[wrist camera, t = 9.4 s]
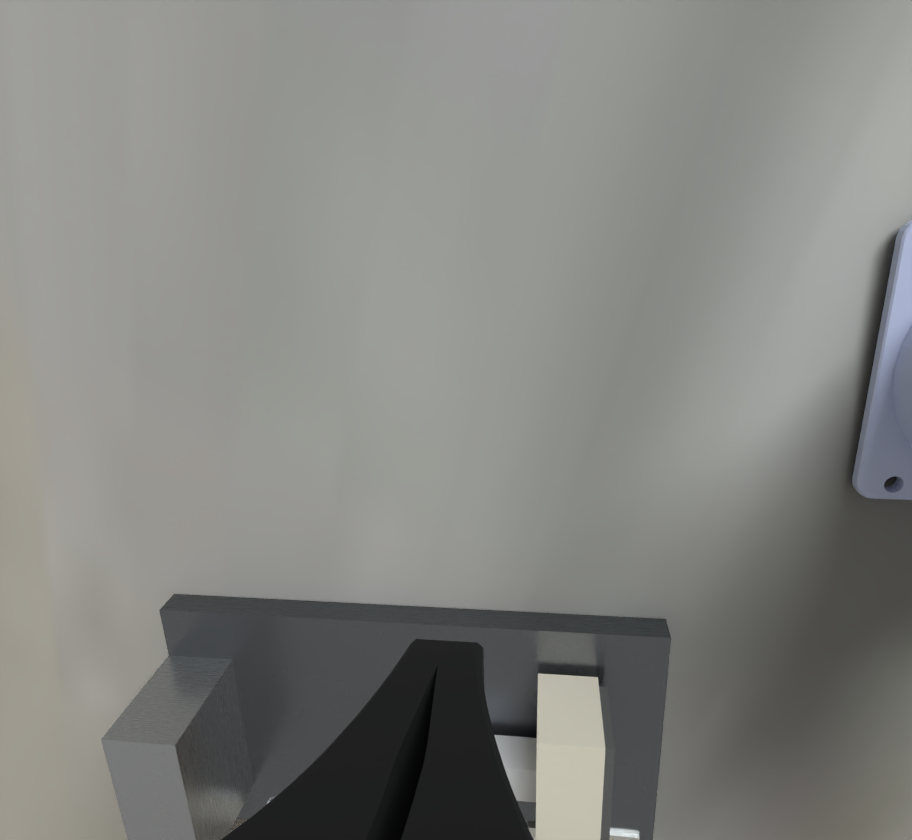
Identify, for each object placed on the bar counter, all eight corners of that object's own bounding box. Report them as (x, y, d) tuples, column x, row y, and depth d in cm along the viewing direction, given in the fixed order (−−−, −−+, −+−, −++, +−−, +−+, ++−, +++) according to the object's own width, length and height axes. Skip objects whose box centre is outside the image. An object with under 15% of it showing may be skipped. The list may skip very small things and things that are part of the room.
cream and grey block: (607, 677, 22) (616, 749, 19) (598, 832, 24) (605, 915, 21) (422, 666, 23) (404, 732, 20) (430, 815, 25) (416, 895, 22)
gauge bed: (665, 619, 22) (697, 732, 18) (647, 834, 26) (669, 977, 21) (174, 594, 25) (87, 688, 20) (214, 794, 28) (147, 915, 23)
